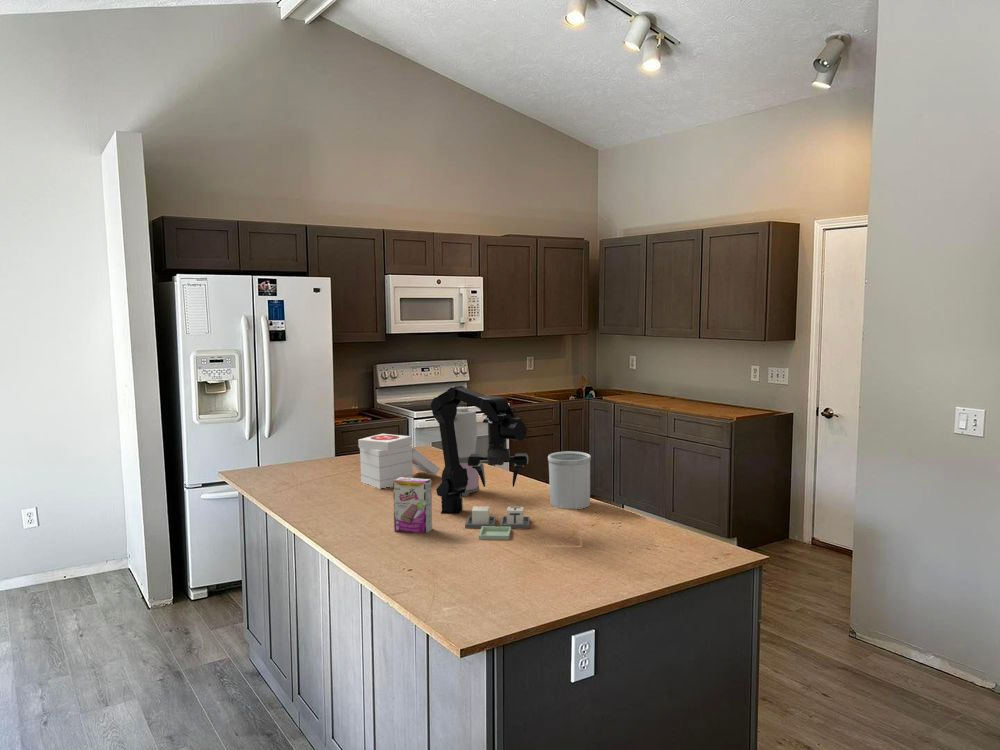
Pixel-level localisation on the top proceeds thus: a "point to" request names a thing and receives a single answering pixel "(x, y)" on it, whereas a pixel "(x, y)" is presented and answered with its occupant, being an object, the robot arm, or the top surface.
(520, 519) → the letter cube
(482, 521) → the blank cube
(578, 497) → the utensil holder
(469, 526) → the tray left
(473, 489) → the blender
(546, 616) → the top surface
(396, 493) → the candy bar box
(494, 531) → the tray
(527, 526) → the tray right
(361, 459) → the pizza boxes
